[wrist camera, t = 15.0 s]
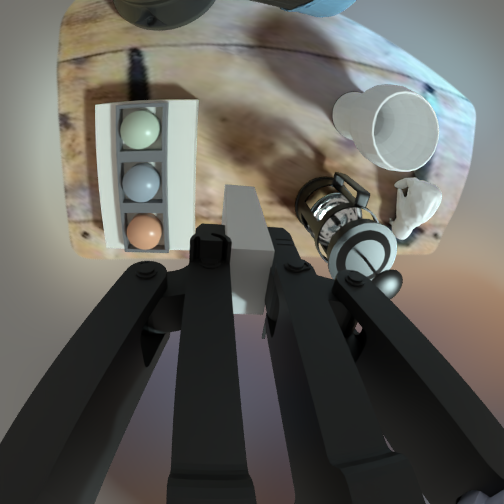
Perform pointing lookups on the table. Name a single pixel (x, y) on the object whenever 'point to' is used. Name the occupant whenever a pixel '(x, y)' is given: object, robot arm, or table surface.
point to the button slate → (141, 182)
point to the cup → (389, 126)
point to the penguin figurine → (414, 205)
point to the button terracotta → (144, 231)
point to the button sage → (140, 129)
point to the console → (158, 155)
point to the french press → (349, 232)
